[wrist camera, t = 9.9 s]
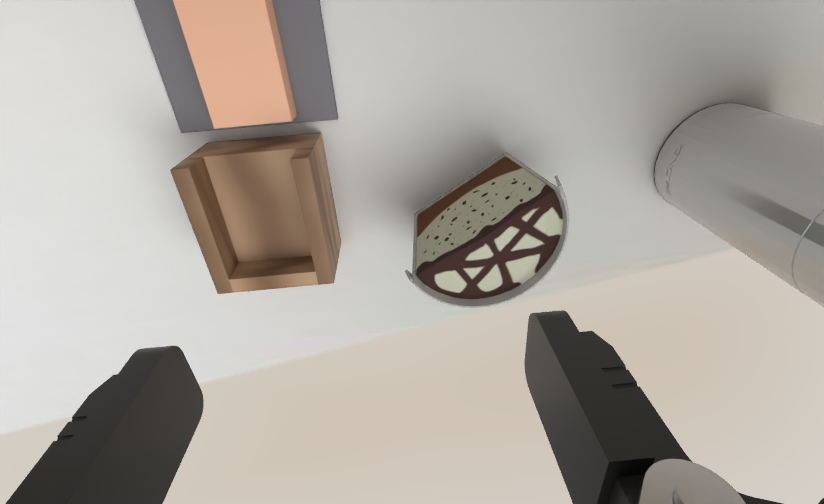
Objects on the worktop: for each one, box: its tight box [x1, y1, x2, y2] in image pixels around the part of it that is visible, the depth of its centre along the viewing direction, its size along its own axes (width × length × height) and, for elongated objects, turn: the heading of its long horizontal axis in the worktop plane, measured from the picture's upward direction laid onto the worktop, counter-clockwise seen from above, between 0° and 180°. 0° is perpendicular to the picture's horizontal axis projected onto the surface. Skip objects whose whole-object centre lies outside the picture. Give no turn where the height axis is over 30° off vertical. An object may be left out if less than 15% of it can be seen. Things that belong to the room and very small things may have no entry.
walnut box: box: [170, 133, 341, 294], centre depth 32 cm, size 9×10×6 cm
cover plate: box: [173, 0, 297, 129], centre depth 27 cm, size 6×12×2 cm, turn 5°
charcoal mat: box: [134, 0, 338, 133], centre depth 28 cm, size 12×13×1 cm
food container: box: [405, 153, 569, 308], centre depth 32 cm, size 12×6×10 cm, turn 126°
